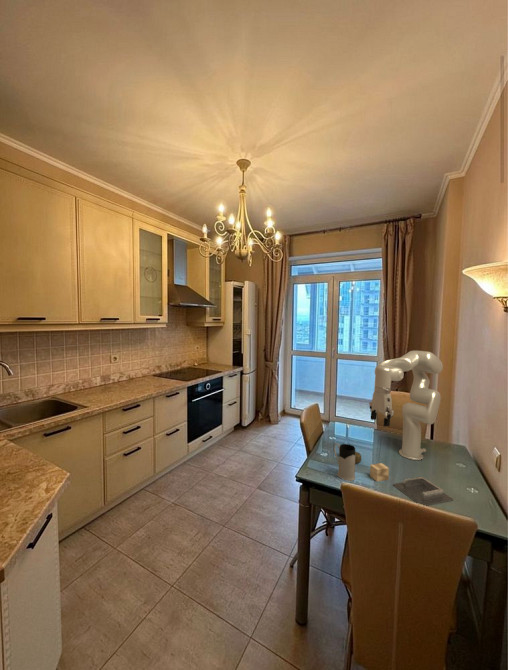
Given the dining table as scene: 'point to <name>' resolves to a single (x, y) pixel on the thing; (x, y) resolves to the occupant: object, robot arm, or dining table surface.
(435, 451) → the dining table surface
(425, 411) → the robot arm
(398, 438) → the dining table surface
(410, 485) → the cradle
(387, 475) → the oak lock block
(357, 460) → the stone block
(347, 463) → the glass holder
